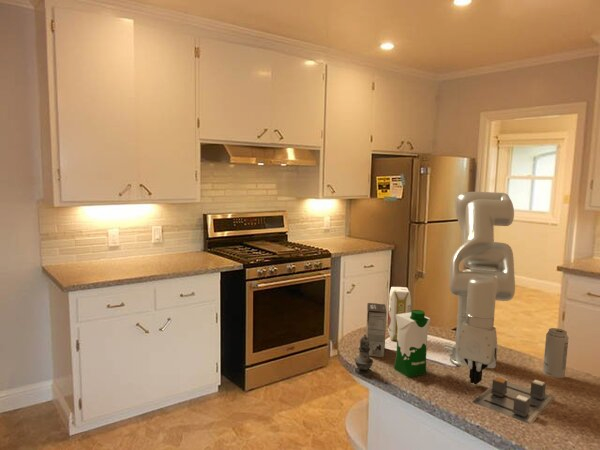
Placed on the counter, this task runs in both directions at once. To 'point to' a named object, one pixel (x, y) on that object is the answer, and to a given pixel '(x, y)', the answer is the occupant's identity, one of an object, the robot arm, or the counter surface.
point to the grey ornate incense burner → (364, 358)
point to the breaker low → (521, 405)
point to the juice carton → (397, 308)
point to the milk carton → (412, 343)
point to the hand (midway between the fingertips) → (475, 382)
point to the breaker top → (538, 389)
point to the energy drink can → (555, 353)
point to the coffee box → (376, 328)
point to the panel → (507, 402)
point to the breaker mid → (499, 387)
